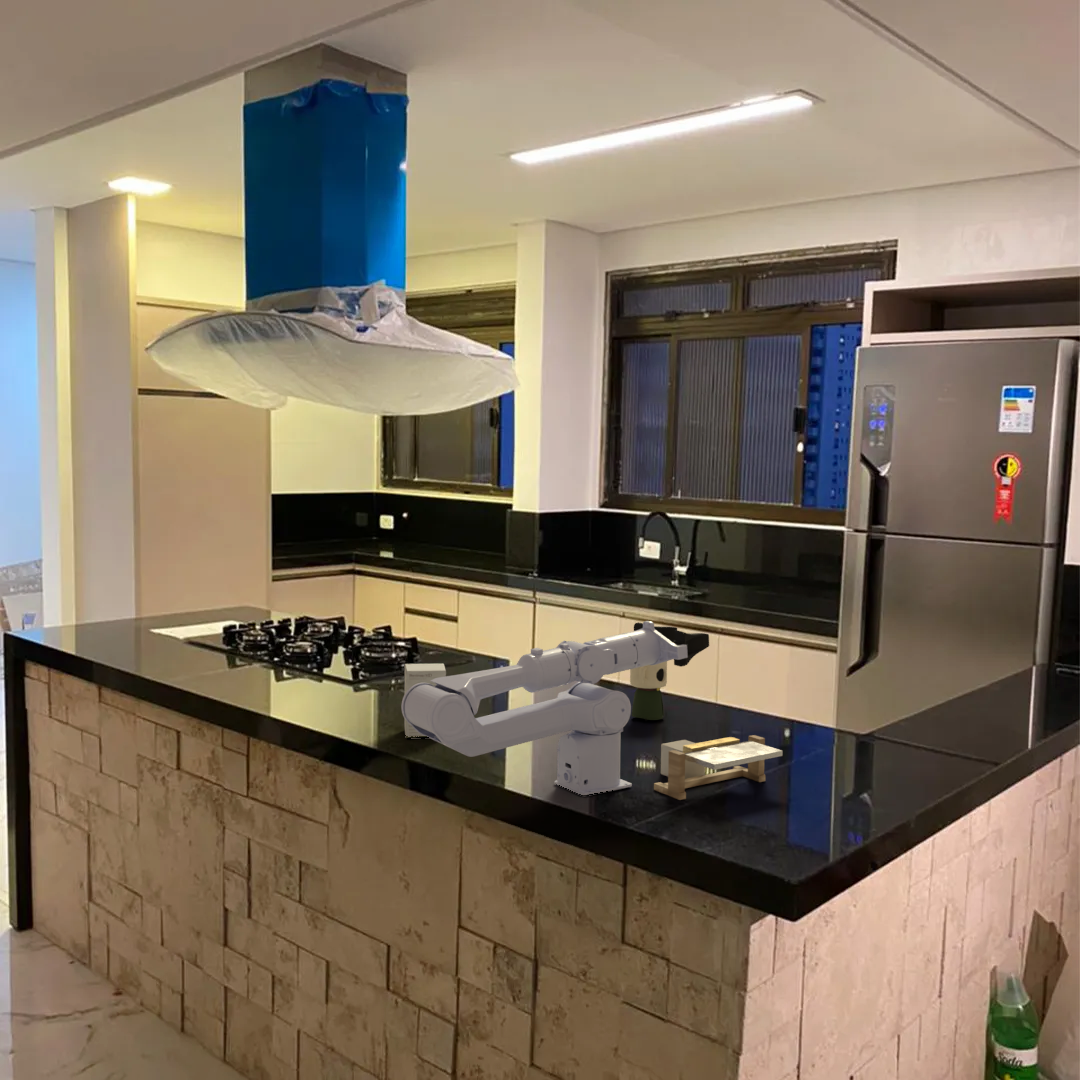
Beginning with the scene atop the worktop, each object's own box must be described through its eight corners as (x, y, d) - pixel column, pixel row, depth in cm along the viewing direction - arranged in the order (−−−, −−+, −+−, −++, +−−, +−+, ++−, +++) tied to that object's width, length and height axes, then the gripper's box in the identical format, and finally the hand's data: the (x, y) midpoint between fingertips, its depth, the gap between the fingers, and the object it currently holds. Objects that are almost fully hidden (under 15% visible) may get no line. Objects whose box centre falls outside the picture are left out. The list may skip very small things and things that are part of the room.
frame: (679, 800, 162) (680, 755, 162) (653, 789, 167) (654, 746, 167) (765, 781, 172) (766, 738, 172) (738, 771, 177) (739, 730, 177)
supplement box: (405, 740, 195) (405, 670, 194) (404, 729, 203) (404, 662, 202) (446, 738, 197) (446, 669, 196) (443, 728, 204) (443, 662, 203)
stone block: (681, 782, 172) (681, 751, 171) (660, 774, 176) (661, 743, 175) (704, 777, 174) (705, 746, 174) (684, 769, 178) (684, 739, 178)
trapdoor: (713, 772, 158) (713, 762, 158) (671, 758, 166) (672, 747, 166) (783, 758, 166) (783, 747, 166) (740, 744, 174) (740, 734, 174)
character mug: (659, 727, 206) (660, 659, 205) (622, 724, 208) (623, 656, 207) (671, 714, 216) (673, 650, 215) (637, 711, 218) (638, 647, 217)
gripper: (654, 632, 164) (721, 618, 172) (597, 620, 176) (661, 607, 184) (657, 678, 165) (723, 661, 172) (599, 662, 177) (663, 648, 184)
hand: (691, 636), depth 178 cm, fingers open, 7 cm apart
